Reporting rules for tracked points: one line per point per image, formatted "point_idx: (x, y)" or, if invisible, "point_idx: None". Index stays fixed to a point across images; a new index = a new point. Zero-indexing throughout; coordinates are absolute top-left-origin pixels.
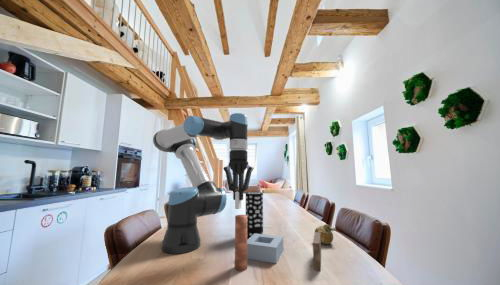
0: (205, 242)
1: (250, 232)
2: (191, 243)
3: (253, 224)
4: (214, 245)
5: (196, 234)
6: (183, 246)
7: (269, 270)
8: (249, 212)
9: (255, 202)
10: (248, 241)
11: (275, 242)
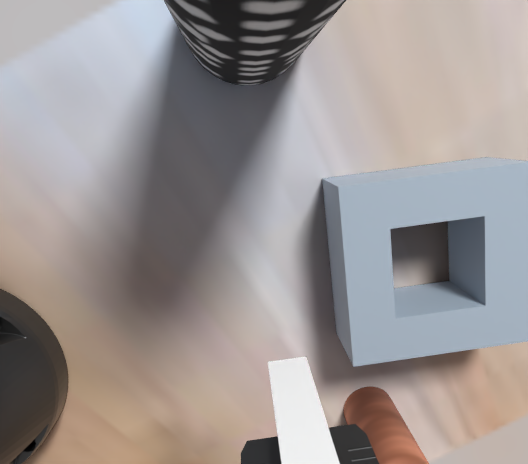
0: (30, 266)
1: (249, 80)
2: (49, 415)
3: (278, 66)
4: (112, 278)
5: (17, 391)
6: (37, 448)
7: (475, 374)
8: (244, 55)
9: (335, 6)
10: (366, 334)
11: (509, 277)
